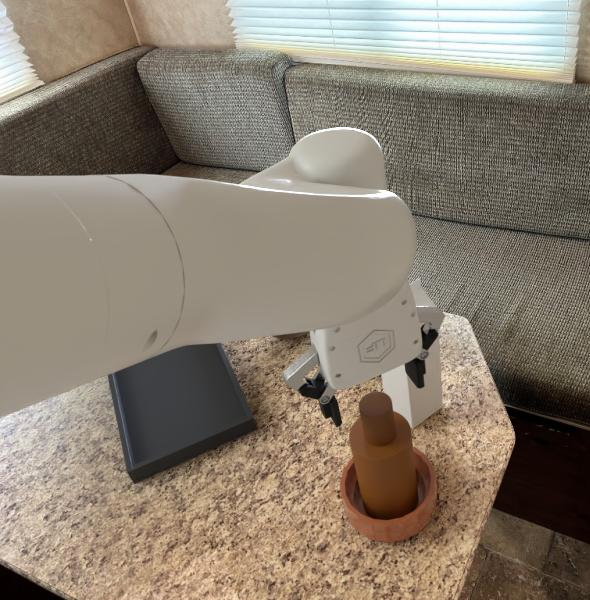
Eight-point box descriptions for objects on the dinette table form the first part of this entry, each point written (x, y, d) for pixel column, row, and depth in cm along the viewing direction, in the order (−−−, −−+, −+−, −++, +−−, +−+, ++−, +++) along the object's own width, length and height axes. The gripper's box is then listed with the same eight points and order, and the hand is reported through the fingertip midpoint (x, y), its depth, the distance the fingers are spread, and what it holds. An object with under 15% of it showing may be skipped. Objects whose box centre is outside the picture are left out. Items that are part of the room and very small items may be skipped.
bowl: (369, 562, 71) (365, 542, 68) (331, 487, 79) (325, 466, 76) (454, 515, 74) (453, 494, 71) (409, 449, 83) (406, 428, 80)
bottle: (378, 534, 73) (359, 440, 61) (354, 490, 78) (332, 395, 66) (428, 507, 75) (419, 412, 63) (402, 466, 80) (389, 370, 68)
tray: (134, 484, 82) (126, 472, 80) (103, 336, 106) (97, 325, 105) (258, 429, 87) (254, 417, 86) (202, 301, 112) (197, 290, 110)
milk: (443, 406, 88) (438, 288, 74) (412, 430, 85) (401, 311, 71) (415, 384, 92) (405, 267, 78) (384, 406, 89) (368, 289, 75)
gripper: (275, 331, 48) (313, 459, 59) (459, 258, 54) (463, 388, 65) (248, 283, 54) (287, 408, 65) (418, 220, 59) (428, 346, 70)
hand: (375, 398), depth 65 cm, fingers open, 9 cm apart
